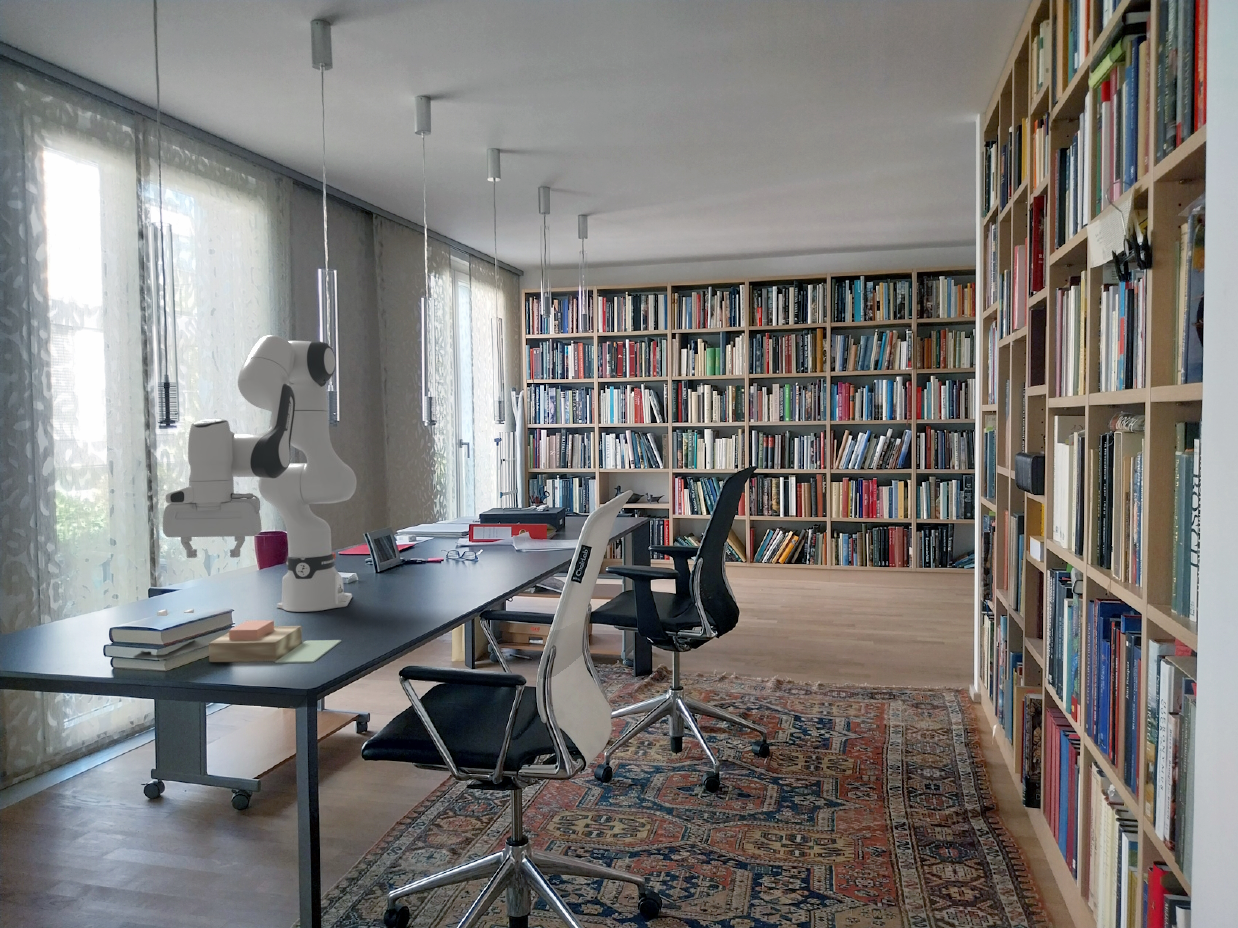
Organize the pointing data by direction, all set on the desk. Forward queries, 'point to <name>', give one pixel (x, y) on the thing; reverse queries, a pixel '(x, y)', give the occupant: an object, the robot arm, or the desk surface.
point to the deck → (256, 646)
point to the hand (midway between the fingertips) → (213, 557)
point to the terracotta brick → (251, 630)
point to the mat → (308, 651)
